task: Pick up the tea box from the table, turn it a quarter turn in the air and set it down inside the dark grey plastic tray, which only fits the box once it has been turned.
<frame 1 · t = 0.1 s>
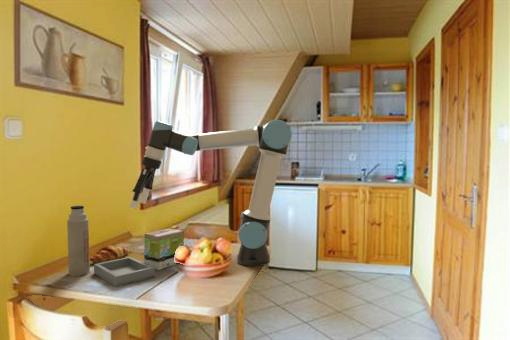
hand: (137, 205, 167), 28 cm above the table, tool tilted 20°, fingers open, 13 cm apart
tea box: (164, 264, 177), on the table
thermos bottle: (79, 273, 165), on the table
tray: (124, 275, 161), on the table
croissant: (111, 259, 184), on the table
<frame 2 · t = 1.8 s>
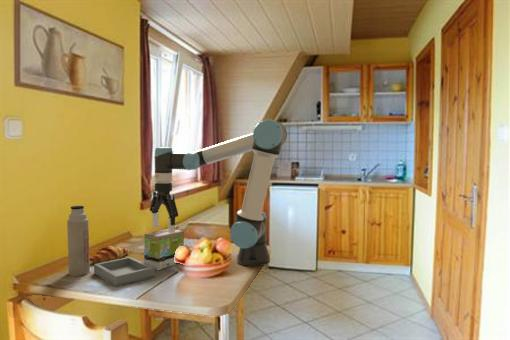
hand: (163, 229, 176), 16 cm above the table, tool pointing down, fingers open, 13 cm apart
nothing on the table moved.
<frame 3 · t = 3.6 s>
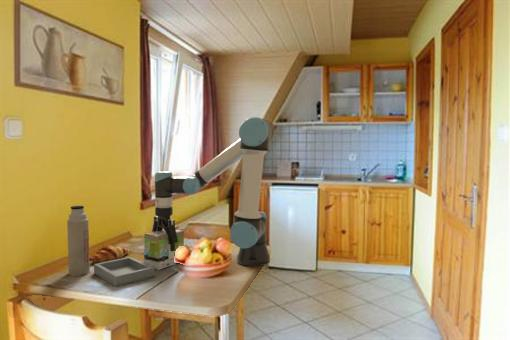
hand: (164, 255, 176), 4 cm above the table, tool pointing down, fingers closed on tea box, 11 cm apart
tea box: (164, 264, 177), on the table, touching gripper
everything else where it was.
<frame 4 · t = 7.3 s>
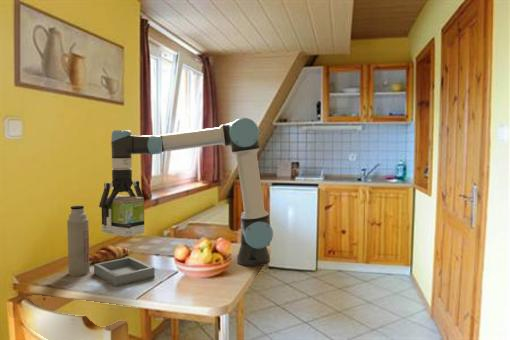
hand: (123, 223, 160), 22 cm above the table, tool pointing down, fingers closed on tea box, 11 cm apart
tea box: (123, 233, 160), point 17 cm above the table, touching gripper
everything else where it was.
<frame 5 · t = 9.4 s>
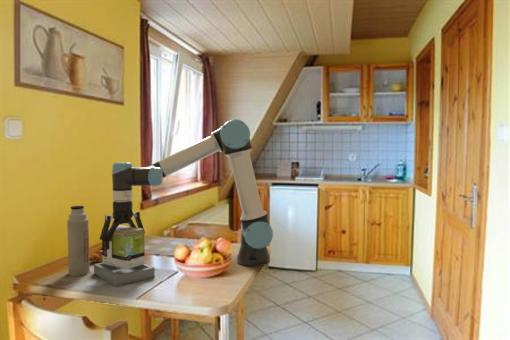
hand: (123, 254, 161), 9 cm above the table, tool pointing down, fingers closed on tea box, 11 cm apart
tea box: (123, 264, 161), point 5 cm above the table, touching gripper
everything else where it was.
when the fingers open (6 cm above the table, at t = 11.3 s): tea box drops 2 cm, resting on tray.
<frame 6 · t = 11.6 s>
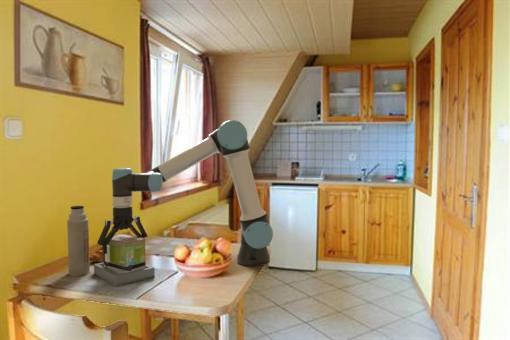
hand: (123, 258, 161), 7 cm above the table, tool pointing down, fingers open, 13 cm apart
tea box: (124, 273, 162), point 1 cm above the table, touching tray
everything else where it was.
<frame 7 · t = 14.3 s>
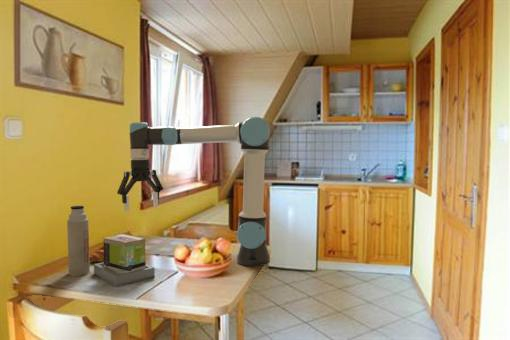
hand: (141, 209, 169), 26 cm above the table, tool pointing down, fingers open, 13 cm apart
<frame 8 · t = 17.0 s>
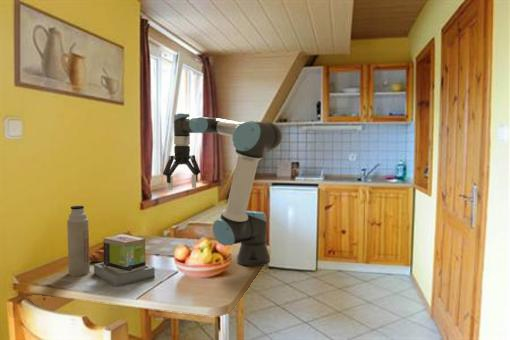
hand: (182, 188, 194), 32 cm above the table, tool pointing down, fingers open, 13 cm apart
at the end: tea box 0.4 cm off-centre on the tray, point 0.6 cm above the tray's base; tea box tilted 0° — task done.
